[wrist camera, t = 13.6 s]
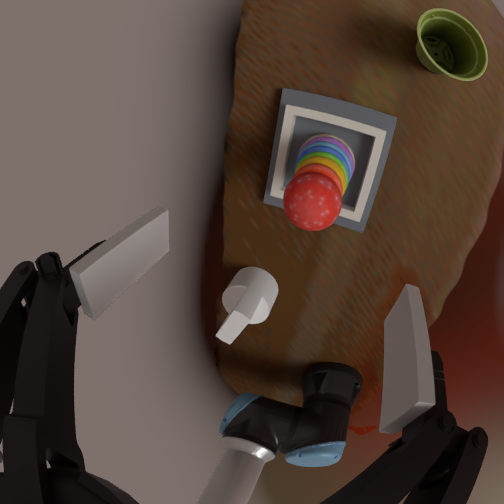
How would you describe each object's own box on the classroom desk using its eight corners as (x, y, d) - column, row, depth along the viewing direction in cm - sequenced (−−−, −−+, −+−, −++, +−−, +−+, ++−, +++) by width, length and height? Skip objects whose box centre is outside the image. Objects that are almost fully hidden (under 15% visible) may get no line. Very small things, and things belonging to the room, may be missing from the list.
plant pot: (395, 25, 22) (406, 5, 16) (452, 27, 19) (473, 12, 12) (413, 84, 26) (430, 79, 20) (469, 86, 23) (495, 83, 16)
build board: (362, 228, 40) (362, 238, 37) (266, 199, 43) (259, 207, 41) (395, 117, 30) (399, 118, 27) (285, 88, 33) (279, 86, 31)
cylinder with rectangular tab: (264, 310, 56) (243, 353, 46) (228, 287, 56) (200, 326, 46) (286, 284, 50) (267, 329, 41) (246, 258, 51) (218, 298, 41)
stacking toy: (289, 167, 38) (240, 217, 23) (316, 122, 33) (286, 134, 18) (334, 198, 38) (319, 268, 23) (365, 154, 33) (377, 196, 18)
